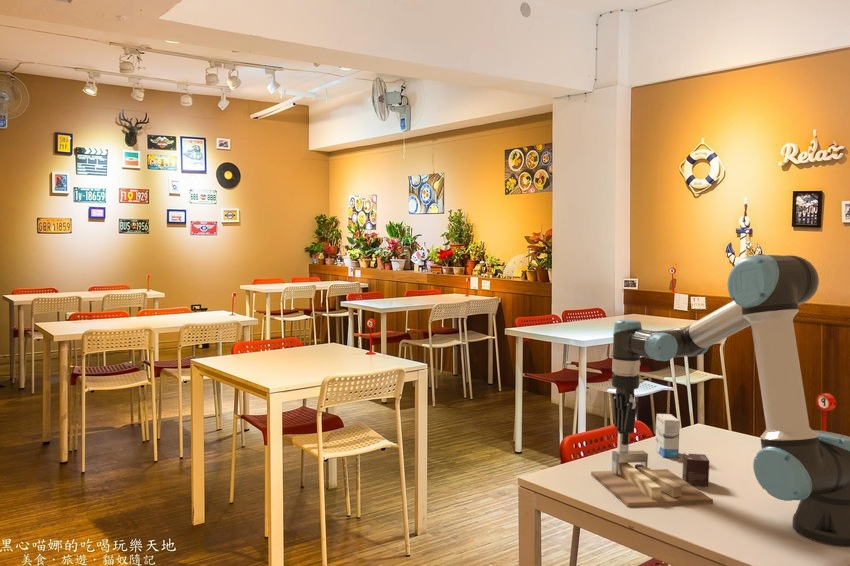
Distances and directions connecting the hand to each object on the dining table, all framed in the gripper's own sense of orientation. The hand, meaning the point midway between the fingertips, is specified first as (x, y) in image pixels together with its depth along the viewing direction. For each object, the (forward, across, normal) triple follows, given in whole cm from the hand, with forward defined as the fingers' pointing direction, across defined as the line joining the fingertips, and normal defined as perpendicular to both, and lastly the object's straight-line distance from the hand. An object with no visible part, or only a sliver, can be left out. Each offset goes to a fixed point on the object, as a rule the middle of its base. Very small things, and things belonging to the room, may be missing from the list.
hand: (622, 454), depth 204 cm
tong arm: (+4, -15, -3) cm, 16 cm away
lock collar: (+4, -5, 0) cm, 6 cm away
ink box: (+5, +15, -22) cm, 27 cm away
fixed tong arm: (+5, -14, +2) cm, 14 cm away
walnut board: (+5, -14, -1) cm, 15 cm away
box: (+5, -11, -17) cm, 20 cm away
